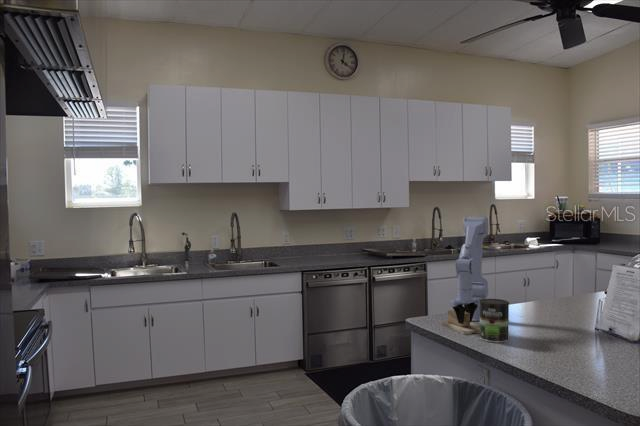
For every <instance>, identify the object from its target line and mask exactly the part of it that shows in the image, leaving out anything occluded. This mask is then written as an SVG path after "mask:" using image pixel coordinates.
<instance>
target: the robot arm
mask: <svg viewBox="0 0 640 426" xmlns="http://www.w3.org/2000/svg"><path fill="white" fill-rule="evenodd" d="M462 228H463V229H462V230H463V231H464V233H465V242H464V243H463V244H462V246H461V249H460V252H459V257H458V258H457V259H456V260H455V273H456V278H457V297H456V298H455V299H453V300H450V301H449V306H450V307H452V308H453V309H452V310H454V311H455V313H456V316H457V319H458V323H460V324H463V323H464V314H465V312H467V313H470V322H478V321H479V322H480V300H481V299H488V295H489V282H488V280H487V279H486V278H485V277H484V276H482V269H483V267H482V265H483V263H482V262H483V246H484V245H483V243H484V239H485V238H486V237H488V234H489V219H488V218H487V216H483V217H482V216H464V217H463V219H462Z"/></svg>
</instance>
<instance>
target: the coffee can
mask: <svg viewBox="0 0 640 426" xmlns="http://www.w3.org/2000/svg"><path fill="white" fill-rule="evenodd" d="M509 307H510V302H509V301H508V300H505V299H499V298H487V299H481V300H480V321H479V325H480V333H479V340H481V341H483V342H487V343H493V344H495V343H496V344H497V343H498V344H501V343H502V344H503V343H507V342H509V324H510V323H509V316H510V314H509V311H510V310H509Z"/></svg>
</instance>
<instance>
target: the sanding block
mask: <svg viewBox="0 0 640 426" xmlns="http://www.w3.org/2000/svg"><path fill="white" fill-rule="evenodd" d="M447 322H448V323H450V324H453V325H457V326H461V327H466V326H470V313H467V312H466V311H465V314H464V323H463V324H460V323H458V319H457V316H456V313H455V311H454V309H451V310H447Z"/></svg>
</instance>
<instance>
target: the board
mask: <svg viewBox="0 0 640 426" xmlns="http://www.w3.org/2000/svg"><path fill="white" fill-rule="evenodd" d="M441 325H442V326H444V327H445V328H448V329H450V330H453V331H455V332H457V333H459V332H460V334H461V333H462V335H464V334H465V335H473V334H472V333H476V334H480V323H476V322H475V321H472V322H470V326H466V327H461V326H457V325H453V324H450V323H448V321H442V322H441Z"/></svg>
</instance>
